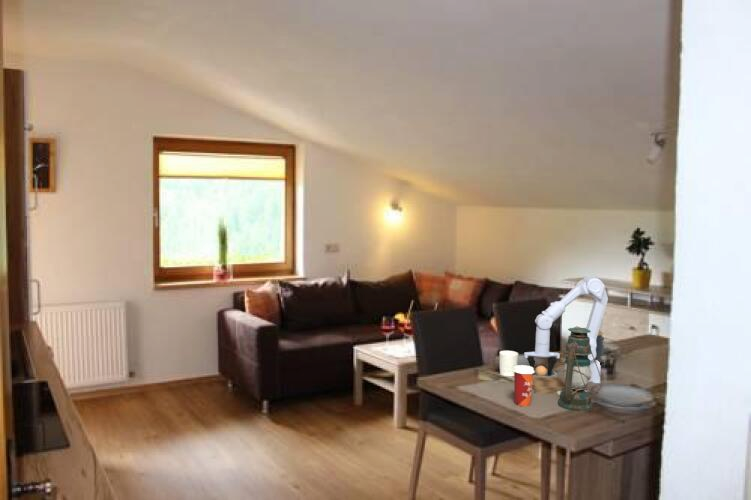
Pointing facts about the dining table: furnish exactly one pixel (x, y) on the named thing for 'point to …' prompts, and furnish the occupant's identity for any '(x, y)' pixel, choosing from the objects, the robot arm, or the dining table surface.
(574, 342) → the lantern
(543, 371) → the ball
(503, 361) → the white cup
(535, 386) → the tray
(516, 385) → the paper cup
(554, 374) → the bowl
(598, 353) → the canister
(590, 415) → the dining table surface
